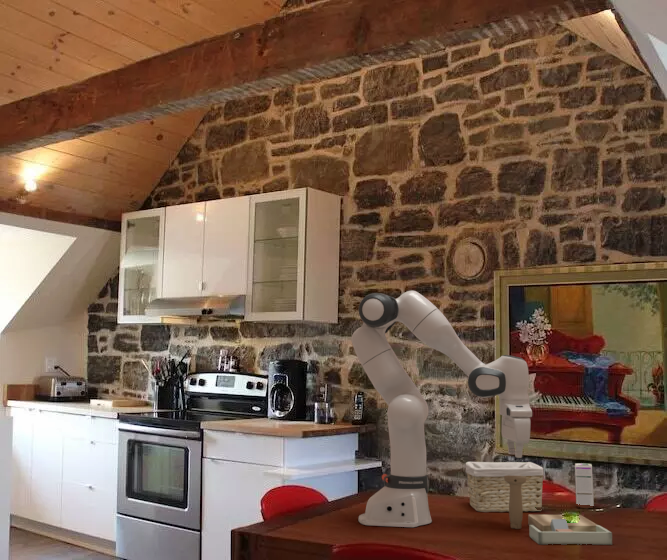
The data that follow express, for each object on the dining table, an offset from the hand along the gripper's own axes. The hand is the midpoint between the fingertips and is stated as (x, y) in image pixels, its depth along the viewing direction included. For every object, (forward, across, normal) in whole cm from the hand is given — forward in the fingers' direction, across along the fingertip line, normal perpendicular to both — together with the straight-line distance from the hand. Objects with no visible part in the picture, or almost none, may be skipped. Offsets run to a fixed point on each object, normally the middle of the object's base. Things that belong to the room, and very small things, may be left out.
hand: (515, 455), depth 238 cm
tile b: (+19, +12, +9) cm, 25 cm away
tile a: (+18, +18, +9) cm, 27 cm away
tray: (+21, +16, +11) cm, 29 cm away
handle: (+21, 0, 0) cm, 21 cm away
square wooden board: (+21, +3, +13) cm, 25 cm away
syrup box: (+21, -34, +32) cm, 51 cm away
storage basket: (+21, -32, +4) cm, 39 cm away
